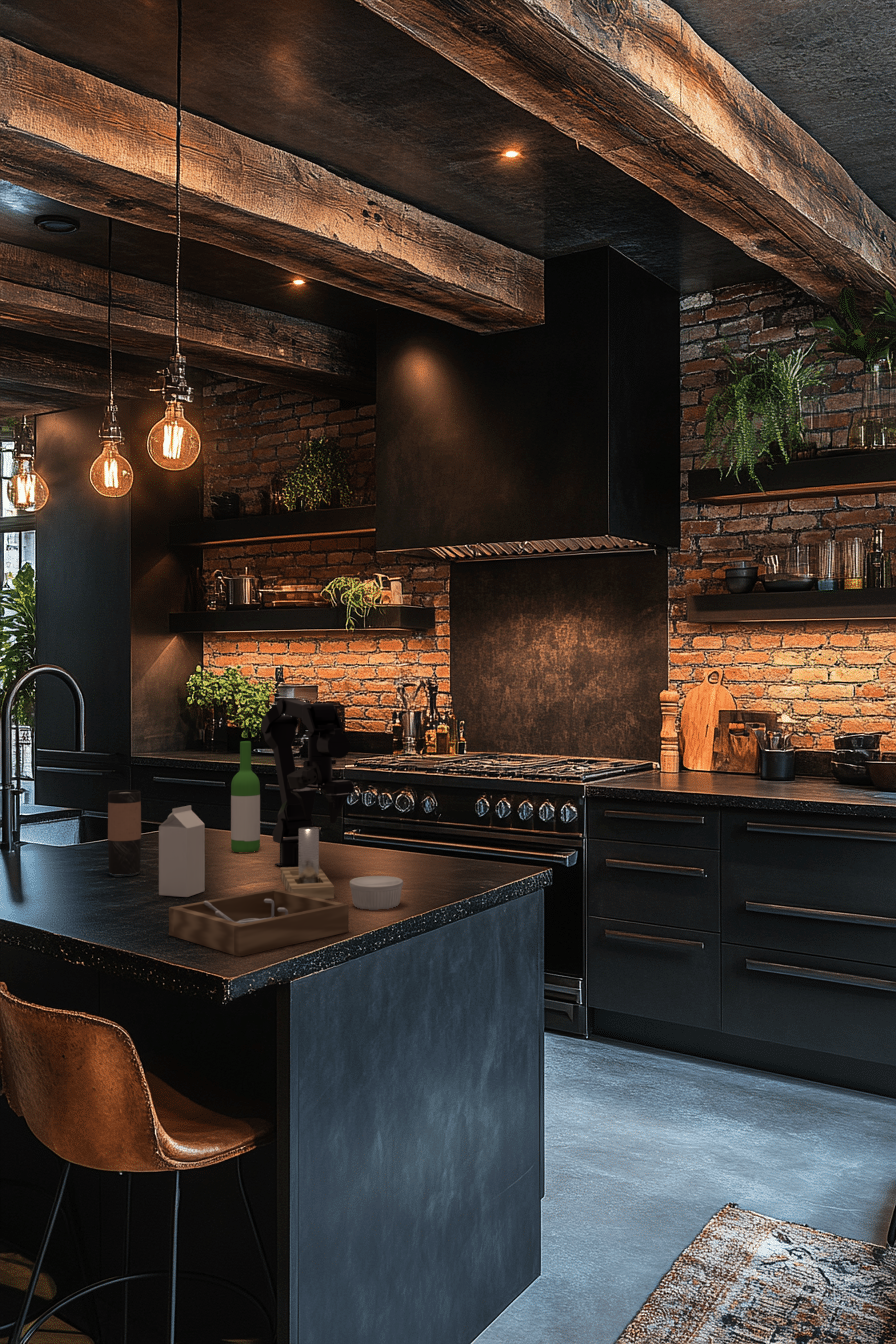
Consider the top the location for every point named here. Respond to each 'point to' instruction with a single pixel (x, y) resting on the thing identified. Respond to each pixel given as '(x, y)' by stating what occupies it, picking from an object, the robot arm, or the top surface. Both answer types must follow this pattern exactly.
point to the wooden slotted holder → (310, 889)
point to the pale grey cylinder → (308, 855)
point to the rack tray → (300, 924)
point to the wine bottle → (245, 805)
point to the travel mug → (124, 831)
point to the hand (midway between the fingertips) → (320, 821)
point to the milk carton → (181, 854)
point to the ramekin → (376, 892)
